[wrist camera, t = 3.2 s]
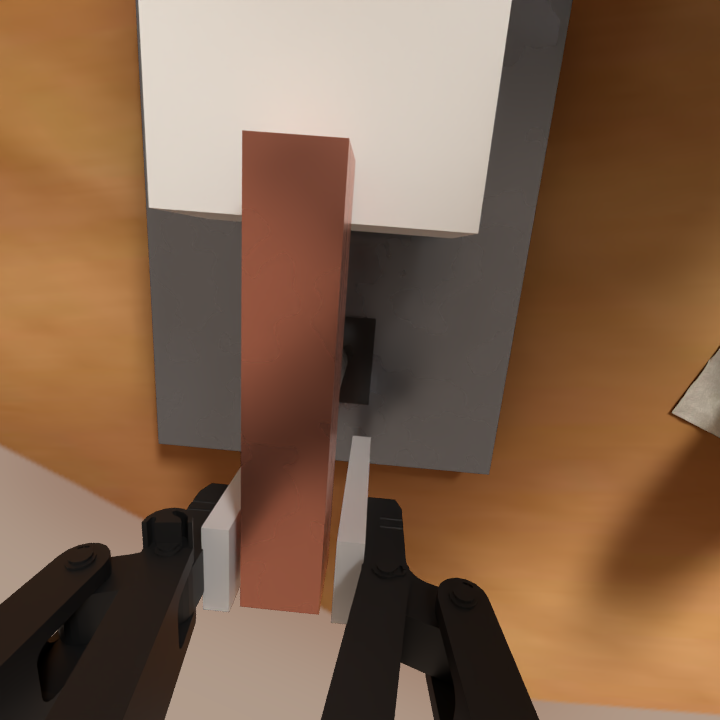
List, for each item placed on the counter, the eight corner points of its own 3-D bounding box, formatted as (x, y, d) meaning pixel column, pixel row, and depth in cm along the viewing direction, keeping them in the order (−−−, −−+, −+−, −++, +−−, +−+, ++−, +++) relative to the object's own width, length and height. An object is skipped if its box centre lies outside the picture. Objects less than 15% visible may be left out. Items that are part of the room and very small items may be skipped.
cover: (205, -80, 13) (127, -229, 9) (490, -63, 13) (541, -208, 9) (209, 219, 15) (148, 207, 11) (451, 238, 15) (478, 233, 11)
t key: (310, 190, 17) (241, 129, 8) (364, 194, 17) (349, 138, 8) (298, 458, 20) (240, 606, 12) (344, 463, 20) (318, 614, 11)
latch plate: (160, -25, 17) (14, -208, 10) (554, 1, 16) (676, -174, 10) (178, 426, 22) (88, 504, 15) (479, 454, 22) (524, 546, 15)
